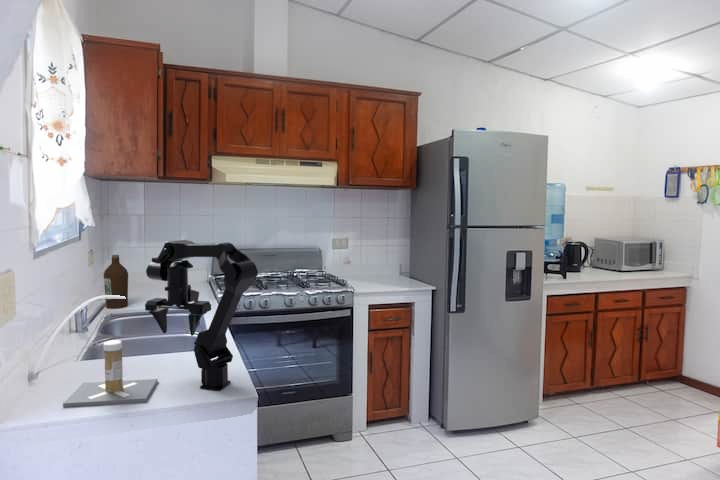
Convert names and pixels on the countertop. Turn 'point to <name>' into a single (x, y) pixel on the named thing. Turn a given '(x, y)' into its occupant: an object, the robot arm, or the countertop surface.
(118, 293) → the olive oil
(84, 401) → the board
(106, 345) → the sprinkles bottle
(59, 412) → the countertop surface
